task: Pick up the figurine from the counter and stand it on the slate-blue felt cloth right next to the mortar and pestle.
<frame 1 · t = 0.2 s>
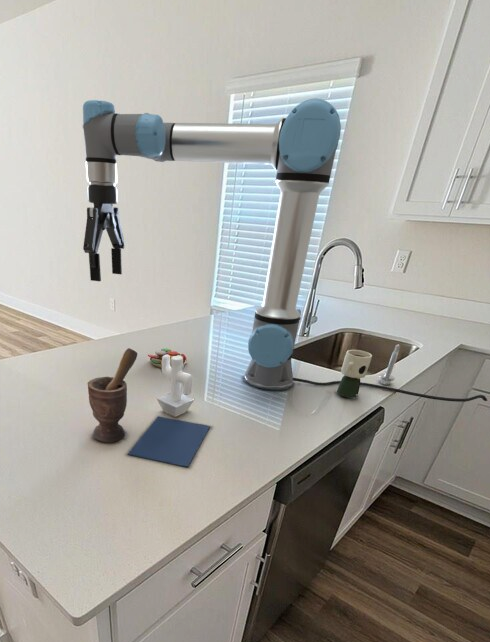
hand: (106, 277, 114), 28 cm above the counter, tool pointing down, fingers open, 13 cm apart
character mug: (346, 396, 124), on the counter
felt mat: (171, 440, 96), on the counter
toy food set: (167, 364, 140), on the counter
figurine: (174, 412, 109), on the counter
mortar and pestle: (114, 433, 98), on the counter
screw: (384, 384, 134), on the counter
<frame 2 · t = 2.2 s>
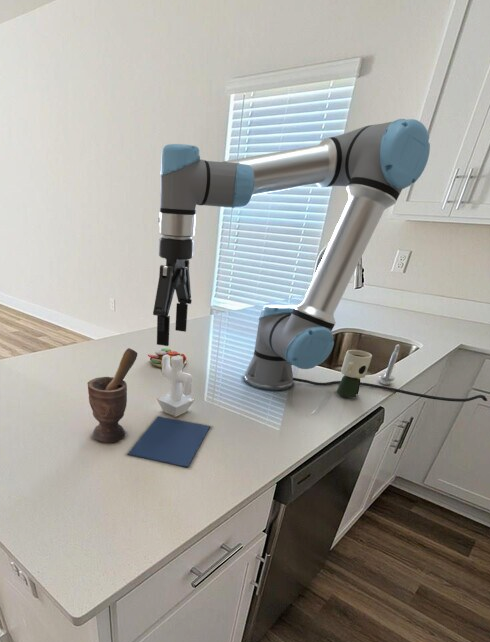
hand: (172, 337, 99), 19 cm above the counter, tool pointing down, fingers open, 13 cm apart
nothing on the counter moved.
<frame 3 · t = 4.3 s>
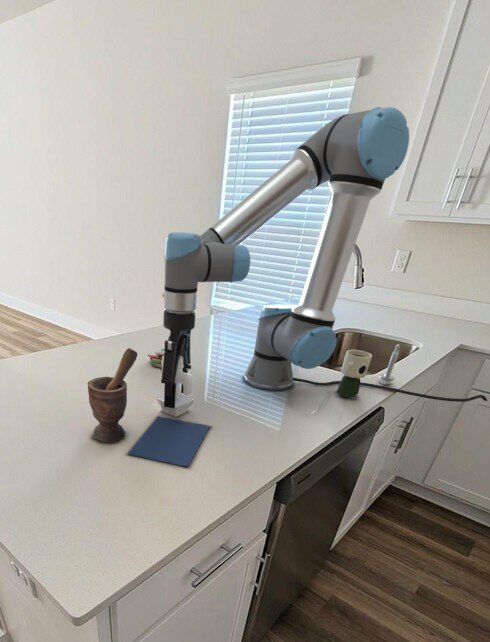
hand: (175, 399, 107), 4 cm above the counter, tool pointing down, fingers closed on figurine, 9 cm apart
figurine: (174, 412, 109), on the counter, touching gripper
everything else where it was.
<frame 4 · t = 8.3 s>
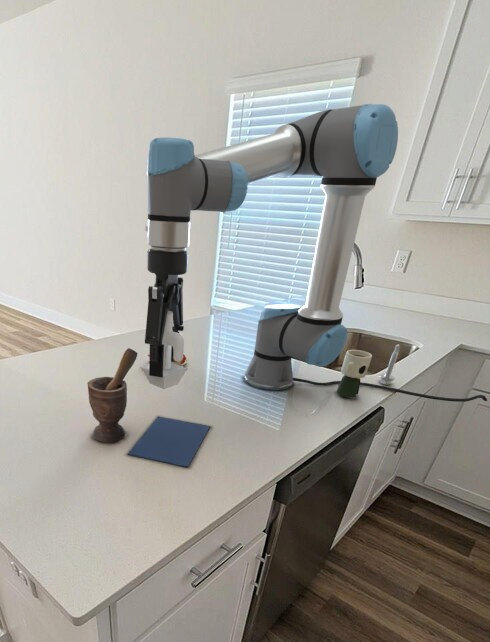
hand: (164, 368, 87), 17 cm above the counter, tool pointing down, fingers closed on figurine, 9 cm apart
figurine: (163, 384, 89), point 14 cm above the counter, touching gripper
everything else where it was.
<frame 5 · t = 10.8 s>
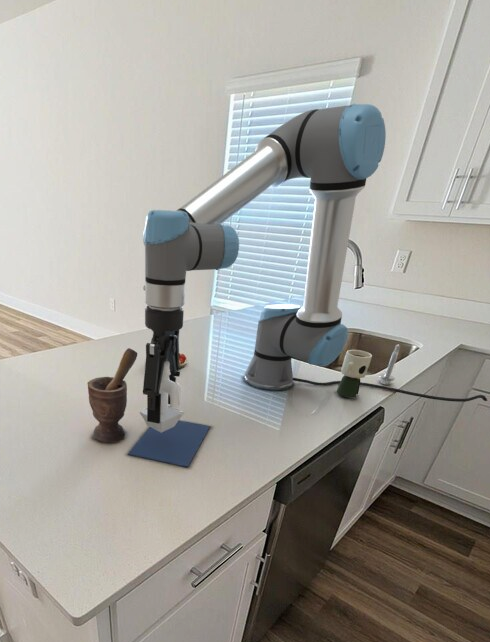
hand: (161, 412, 91), 8 cm above the counter, tool pointing down, fingers closed on figurine, 9 cm apart
figurine: (161, 427, 93), point 4 cm above the counter, touching gripper
everything else where it was.
when the fingers open (4 cm above the counter, at t = 12.5 s): figurine stays where it is, resting on felt mat.
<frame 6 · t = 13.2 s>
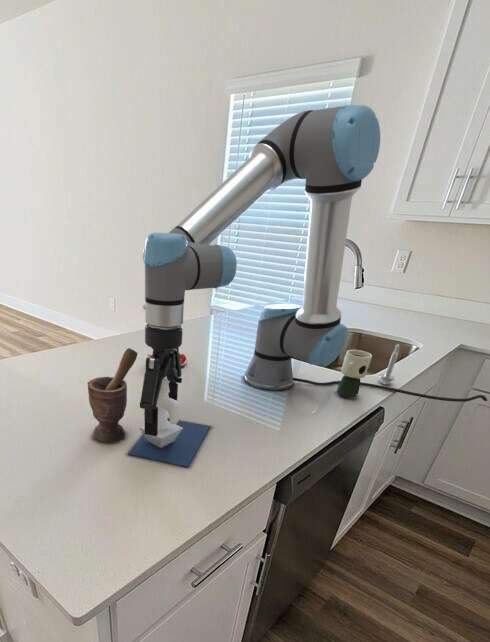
hand: (161, 421, 92), 6 cm above the counter, tool pointing down, fingers open, 13 cm apart
figurine: (160, 442, 95), resting on felt mat
everything else where it was.
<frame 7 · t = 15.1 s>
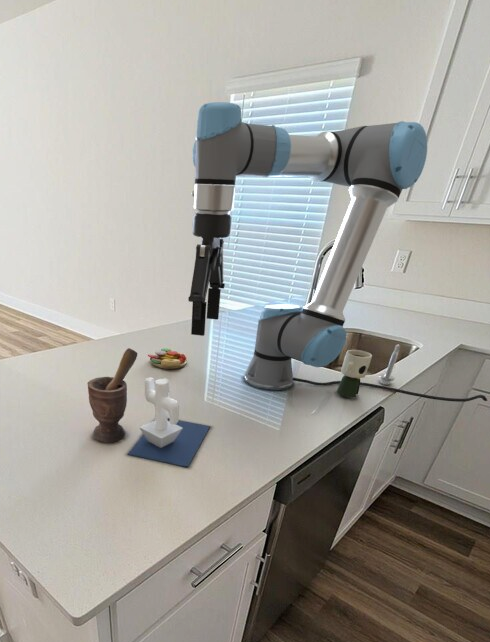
hand: (205, 326, 90), 24 cm above the counter, tool pointing down, fingers open, 13 cm apart
nothing on the counter moved.
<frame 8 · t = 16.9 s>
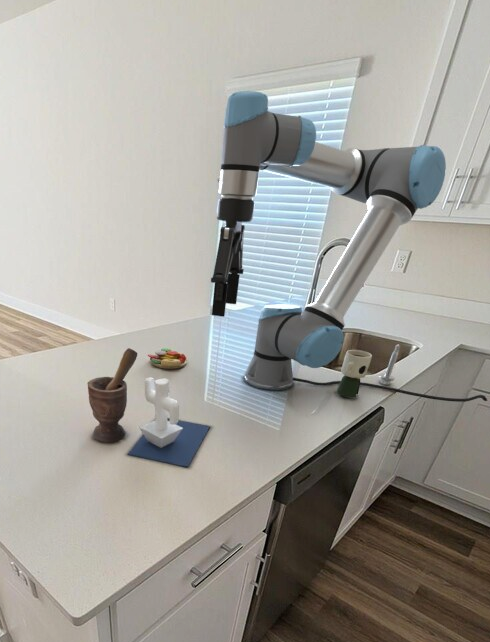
hand: (224, 309, 94), 27 cm above the counter, tool pointing down, fingers open, 13 cm apart
nothing on the counter moved.
at the end: figurine 12.0 cm from the mortar and pestle (horizontally); figurine touching felt mat; figurine tilted 0° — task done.
